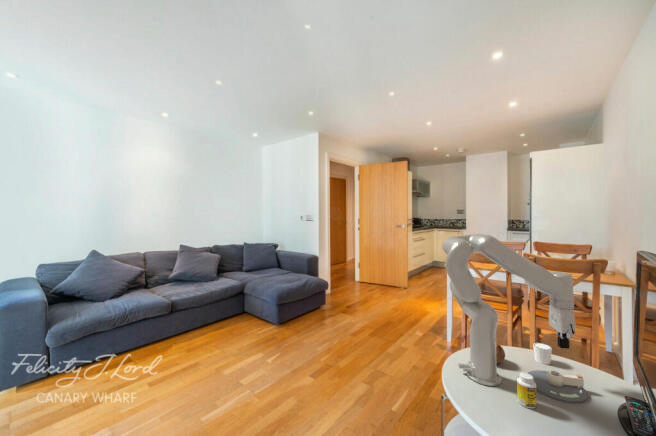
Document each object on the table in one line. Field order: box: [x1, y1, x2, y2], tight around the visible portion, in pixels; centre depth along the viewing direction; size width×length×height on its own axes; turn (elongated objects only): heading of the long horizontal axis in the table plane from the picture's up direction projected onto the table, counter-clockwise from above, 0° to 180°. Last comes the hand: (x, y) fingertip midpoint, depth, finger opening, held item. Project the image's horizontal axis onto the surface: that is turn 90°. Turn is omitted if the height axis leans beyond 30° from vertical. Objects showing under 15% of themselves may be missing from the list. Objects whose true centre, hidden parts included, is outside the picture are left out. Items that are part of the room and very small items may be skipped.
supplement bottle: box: [516, 372, 537, 409], centre depth 95 cm, size 6×6×10 cm
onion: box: [496, 342, 506, 364], centre depth 122 cm, size 10×9×10 cm
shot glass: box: [532, 342, 553, 365], centre depth 121 cm, size 7×7×7 cm
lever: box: [547, 370, 585, 388], centre depth 102 cm, size 11×5×4 cm, turn 75°
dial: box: [527, 369, 588, 404], centre depth 103 cm, size 18×18×2 cm
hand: (563, 347), depth 108 cm, fingers closed
